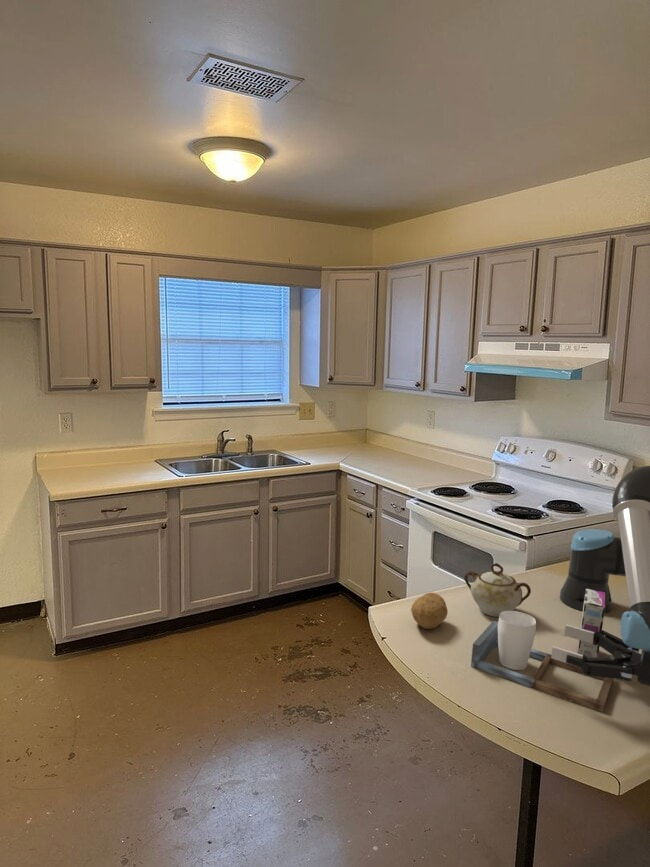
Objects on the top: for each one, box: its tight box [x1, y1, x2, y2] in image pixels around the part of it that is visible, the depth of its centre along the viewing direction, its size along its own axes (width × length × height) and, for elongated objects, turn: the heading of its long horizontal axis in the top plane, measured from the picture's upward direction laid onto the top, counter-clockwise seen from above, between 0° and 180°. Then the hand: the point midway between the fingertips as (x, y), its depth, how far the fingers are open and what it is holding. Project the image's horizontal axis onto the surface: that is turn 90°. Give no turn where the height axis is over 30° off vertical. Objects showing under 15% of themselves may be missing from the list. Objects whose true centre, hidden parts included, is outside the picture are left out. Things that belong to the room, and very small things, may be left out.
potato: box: [410, 592, 449, 630], centre depth 166 cm, size 10×14×8 cm
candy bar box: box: [577, 589, 605, 658], centre depth 153 cm, size 11×5×16 cm, turn 155°
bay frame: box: [470, 620, 615, 713], centre depth 144 cm, size 30×16×6 cm, turn 56°
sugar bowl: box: [464, 562, 532, 618], centre depth 177 cm, size 20×15×15 cm
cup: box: [497, 610, 537, 671], centre depth 148 cm, size 9×9×12 cm
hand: (558, 640), depth 141 cm, fingers open, 13 cm apart
